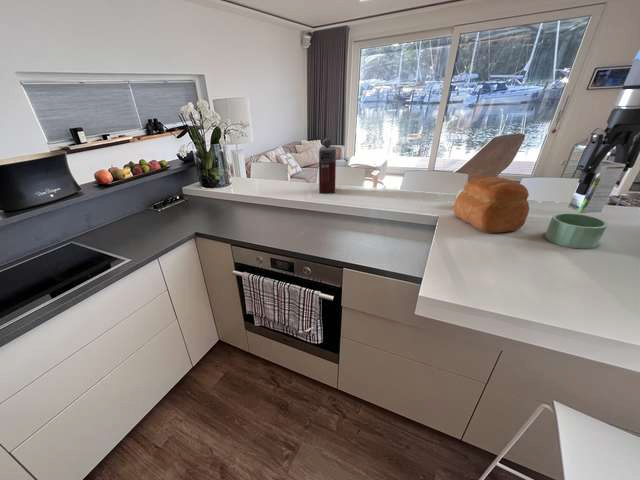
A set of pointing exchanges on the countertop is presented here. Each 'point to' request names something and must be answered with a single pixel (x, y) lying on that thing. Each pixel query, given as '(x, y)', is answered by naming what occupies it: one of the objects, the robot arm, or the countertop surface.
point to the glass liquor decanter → (327, 167)
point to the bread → (493, 204)
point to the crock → (575, 230)
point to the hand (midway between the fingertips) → (592, 193)
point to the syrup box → (598, 188)
